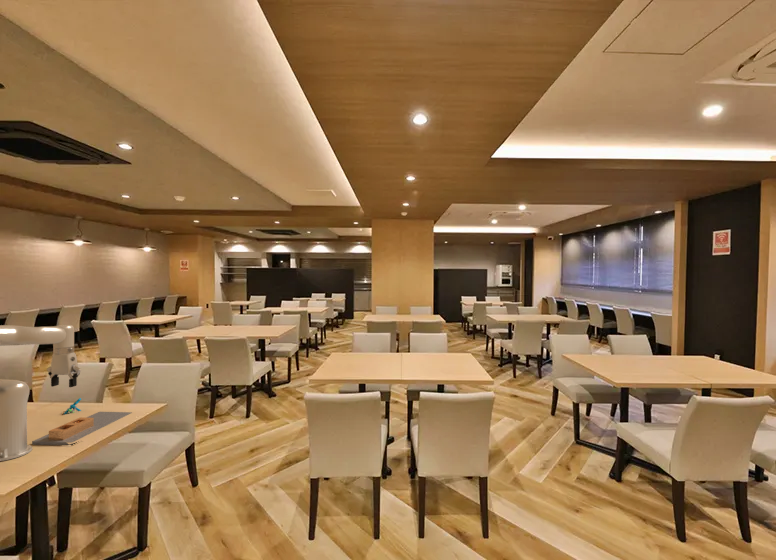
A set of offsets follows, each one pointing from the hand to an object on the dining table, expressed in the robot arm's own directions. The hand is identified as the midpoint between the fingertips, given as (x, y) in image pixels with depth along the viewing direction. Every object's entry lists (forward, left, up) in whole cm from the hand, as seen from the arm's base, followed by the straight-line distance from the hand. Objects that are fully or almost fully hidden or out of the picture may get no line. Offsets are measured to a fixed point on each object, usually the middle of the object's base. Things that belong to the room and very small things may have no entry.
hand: (63, 386), depth 176 cm
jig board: (+6, -6, -23) cm, 25 cm away
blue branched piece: (+25, +20, -23) cm, 40 cm away
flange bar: (-2, -6, -22) cm, 22 cm away
